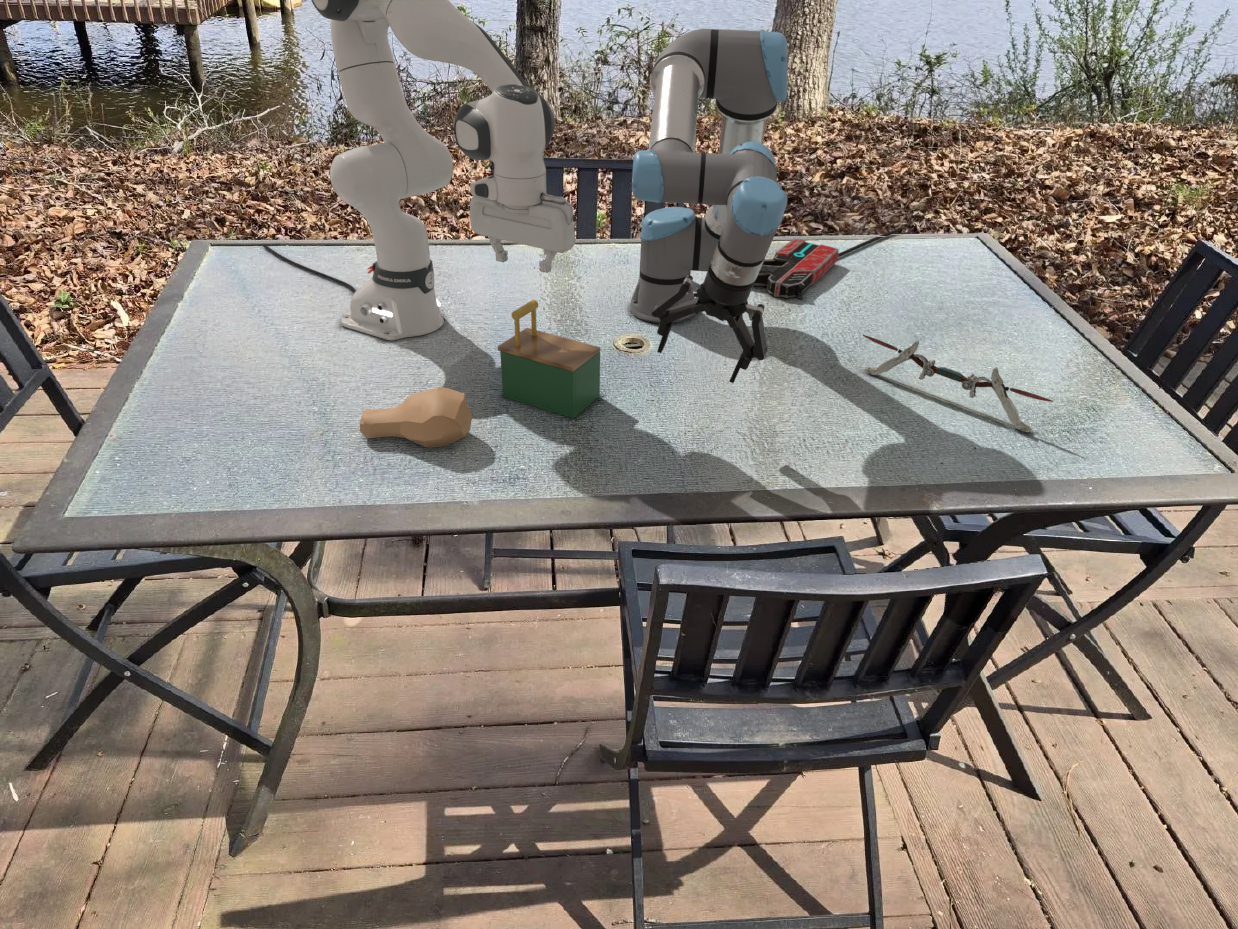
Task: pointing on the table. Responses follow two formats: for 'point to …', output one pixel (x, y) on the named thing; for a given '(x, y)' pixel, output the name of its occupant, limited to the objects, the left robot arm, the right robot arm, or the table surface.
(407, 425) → the squash
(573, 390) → the chest
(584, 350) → the lid
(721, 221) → the right robot arm
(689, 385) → the table surface
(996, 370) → the bow
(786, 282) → the gun
